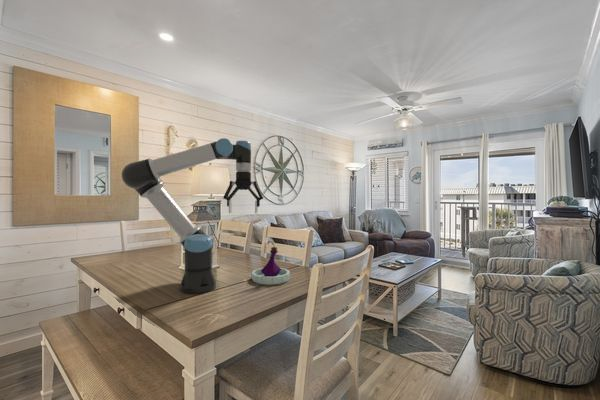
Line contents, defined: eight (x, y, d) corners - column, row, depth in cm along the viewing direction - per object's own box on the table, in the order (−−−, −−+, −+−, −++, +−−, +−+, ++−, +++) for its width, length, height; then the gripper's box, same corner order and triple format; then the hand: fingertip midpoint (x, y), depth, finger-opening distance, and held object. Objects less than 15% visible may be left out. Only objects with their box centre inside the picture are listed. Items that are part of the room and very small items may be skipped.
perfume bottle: (281, 275, 147) (281, 240, 147) (273, 279, 141) (273, 242, 140) (269, 273, 151) (269, 239, 151) (260, 277, 144) (260, 241, 144)
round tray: (248, 284, 137) (248, 276, 137) (256, 273, 155) (256, 266, 155) (286, 285, 135) (286, 277, 135) (291, 274, 154) (291, 267, 154)
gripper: (217, 171, 145) (217, 213, 146) (266, 171, 144) (265, 213, 144) (222, 172, 153) (222, 212, 153) (268, 172, 151) (268, 212, 151)
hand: (243, 213), depth 149 cm, fingers open, 13 cm apart
